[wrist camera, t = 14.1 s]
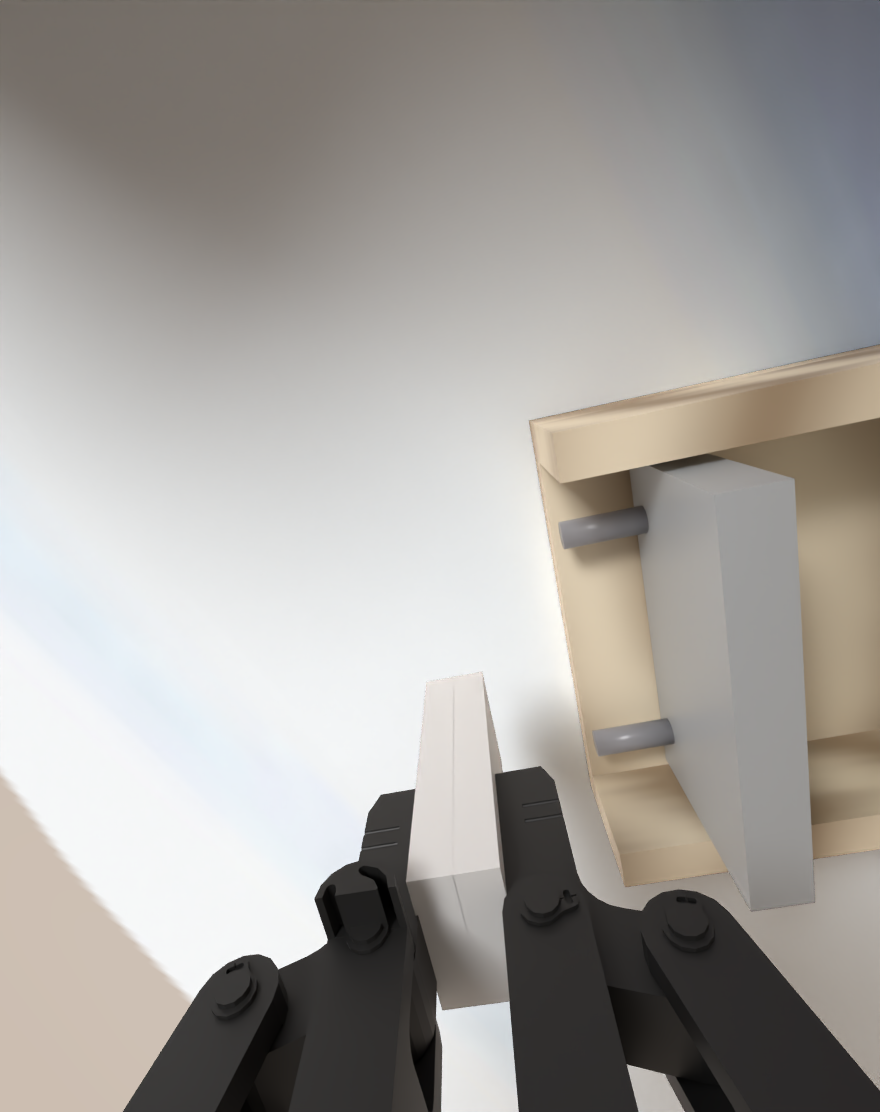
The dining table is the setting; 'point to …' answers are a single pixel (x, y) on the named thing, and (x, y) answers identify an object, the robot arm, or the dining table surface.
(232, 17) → the dining table surface
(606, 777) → the wooden tray
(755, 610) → the pusher
